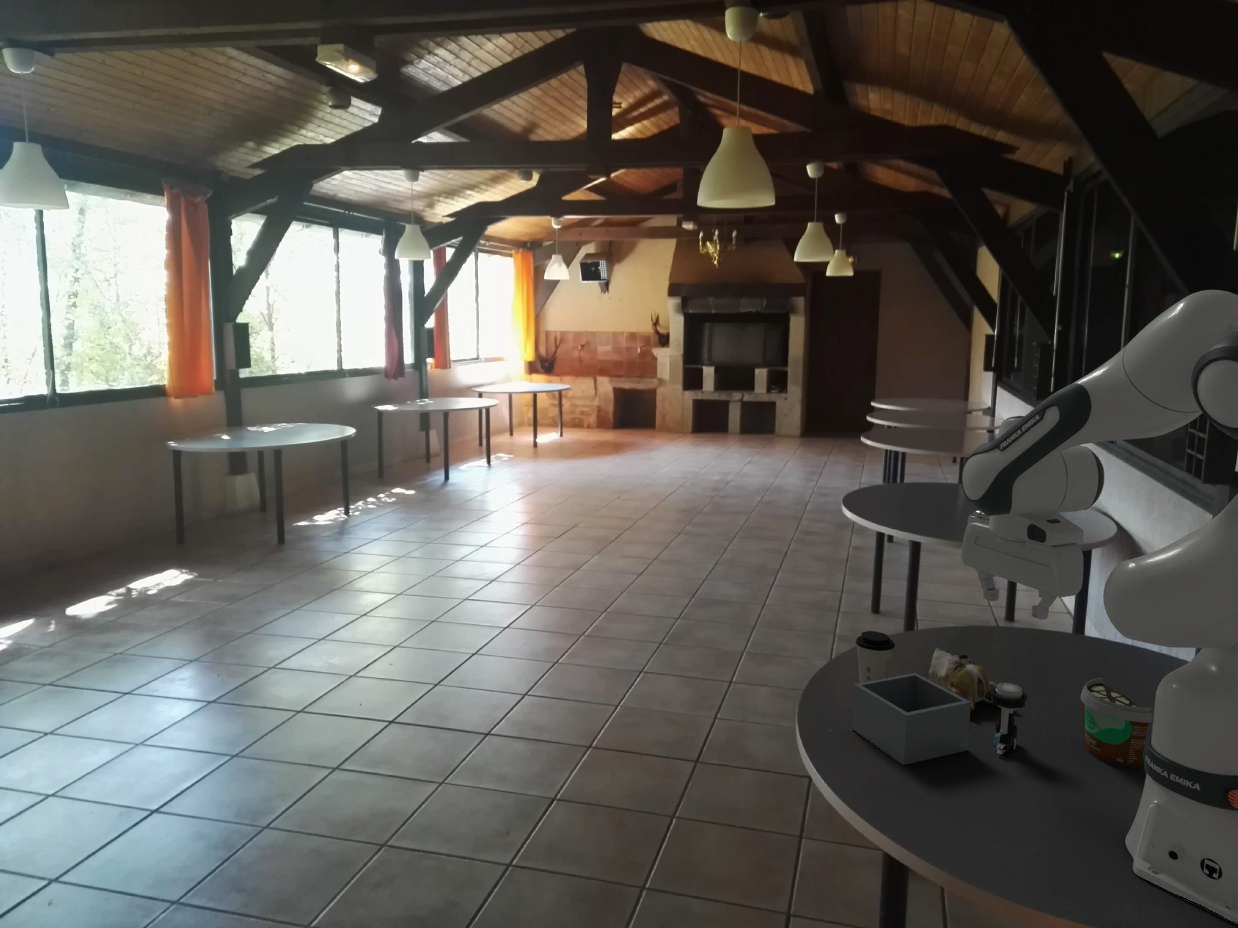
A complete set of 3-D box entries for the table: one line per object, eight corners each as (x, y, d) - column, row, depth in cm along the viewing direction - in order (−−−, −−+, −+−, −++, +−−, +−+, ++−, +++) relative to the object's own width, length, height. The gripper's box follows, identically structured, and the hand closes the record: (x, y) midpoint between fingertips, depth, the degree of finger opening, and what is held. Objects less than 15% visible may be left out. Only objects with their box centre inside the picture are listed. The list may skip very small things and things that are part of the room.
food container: (1059, 735, 143) (1064, 677, 141) (1095, 734, 143) (1101, 676, 141) (1108, 774, 130) (1114, 710, 129) (1147, 772, 131) (1153, 709, 129)
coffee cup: (900, 691, 160) (903, 639, 158) (871, 698, 157) (874, 645, 155) (874, 677, 166) (876, 627, 164) (845, 683, 163) (847, 632, 161)
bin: (967, 749, 138) (971, 702, 136) (903, 764, 133) (906, 715, 132) (912, 717, 149) (915, 672, 148) (851, 729, 144) (854, 684, 143)
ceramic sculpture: (959, 635, 164) (1022, 669, 150) (955, 678, 165) (1016, 715, 152) (913, 643, 160) (973, 678, 146) (909, 687, 162) (968, 725, 148)
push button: (1016, 761, 134) (1021, 700, 132) (980, 751, 137) (984, 691, 136) (1026, 745, 139) (1031, 685, 138) (991, 735, 142) (995, 677, 141)
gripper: (954, 509, 141) (949, 592, 143) (1061, 537, 122) (1054, 631, 124) (984, 506, 143) (979, 587, 145) (1094, 533, 124) (1086, 626, 127)
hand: (1014, 608), depth 135 cm, fingers open, 8 cm apart
